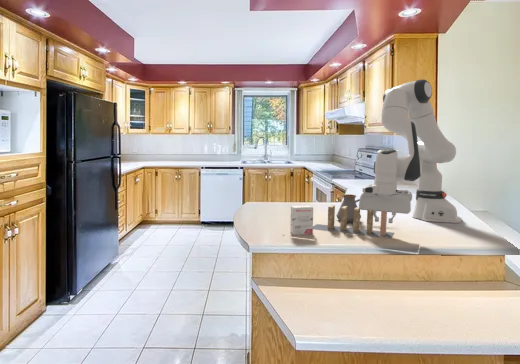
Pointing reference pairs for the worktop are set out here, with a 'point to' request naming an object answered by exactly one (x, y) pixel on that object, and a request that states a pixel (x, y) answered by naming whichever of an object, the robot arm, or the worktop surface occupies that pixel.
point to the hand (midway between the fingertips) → (383, 222)
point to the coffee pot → (348, 207)
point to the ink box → (301, 220)
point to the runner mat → (350, 231)
